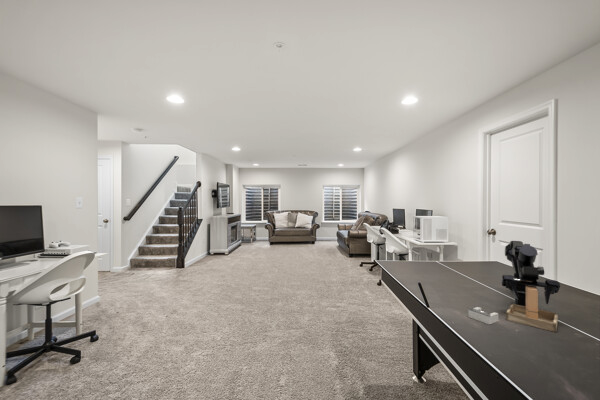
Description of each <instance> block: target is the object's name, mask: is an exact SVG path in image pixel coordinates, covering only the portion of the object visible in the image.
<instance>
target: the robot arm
mask: <svg viewBox="0 0 600 400" xmlns="http://www.w3.org/2000/svg"><path fill="white" fill-rule="evenodd" d="M509 242H510V243H509V244H507V245H505V248H504V257H506V259H507V260H508V261H509V262H511V265H512V270H513V275H510V274H503V275H502V276H501V280H500V281H501V286H502V287H504V288H506V289H508V290H509V291H510V292H511V294H513V296H514V303H513V304H515V305H520V306H525V307H526V286H527V287H535V288H536V289H537V288H543V289H544V300H545V304H546V305H549V301H550V298H551V295H555V294H557V293H558V292H559V290H560V289H561V288H560V287H561V282H559V281H558V280H555V279H545V281H544V282H543V281H541V282H540V281H538V280H539V276H544V275H545V269H544V266H537V267H536V266H535V265H534V263H535V262H536V258H537V256H538V250H537V249H536V248H535V247H534V246H531V244H529V243H524V242H523V241H521V240H520V241H519V240H511V241H509ZM537 290H538V289H537ZM558 294H559V293H558Z"/></svg>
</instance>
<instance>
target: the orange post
mask: <svg viewBox="0 0 600 400" xmlns="http://www.w3.org/2000/svg"><path fill="white" fill-rule="evenodd" d="M538 309H539V291H538V289H536V288H535V287H527V286H526V317H529V318H533V319H538Z"/></svg>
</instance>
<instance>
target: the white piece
mask: <svg viewBox="0 0 600 400" xmlns="http://www.w3.org/2000/svg"><path fill="white" fill-rule="evenodd" d="M468 318H471V319H473V320H476V321H479V322H482V323H484V324H487V325H491V324H494V323H498V322H499V321H500V319H499V313H498V312H492V313H491V312H490V313H488V312H486V311H482V307H480V306H476V307H468Z"/></svg>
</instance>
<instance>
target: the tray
mask: <svg viewBox="0 0 600 400" xmlns="http://www.w3.org/2000/svg"><path fill="white" fill-rule="evenodd" d="M505 320H506V321H509V322H514V323H518V324H521V325H525V326H529V327H533V328H537V329H542V330H546V331H549V332H553V333H557V330H558V329H557V328H558V323H559V313H556V312H552V311H547V310H542V309H539V308H538V319H533V318H529V317H526V307H525V306H520V305H515V304H514V303H511V304H510V306H509V308H508V309H507V311H506V312H505Z"/></svg>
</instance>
